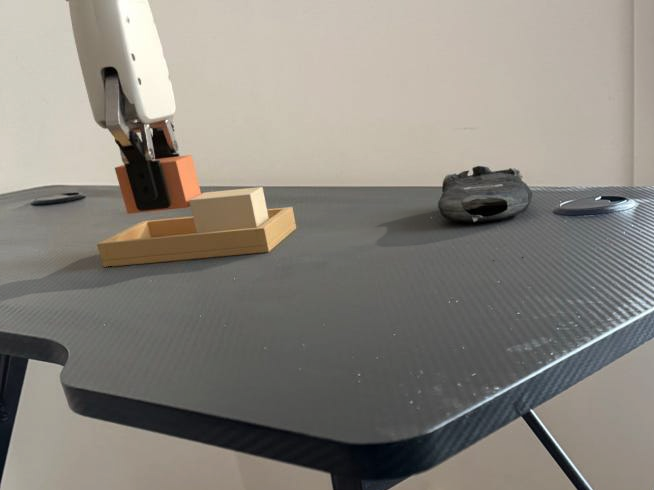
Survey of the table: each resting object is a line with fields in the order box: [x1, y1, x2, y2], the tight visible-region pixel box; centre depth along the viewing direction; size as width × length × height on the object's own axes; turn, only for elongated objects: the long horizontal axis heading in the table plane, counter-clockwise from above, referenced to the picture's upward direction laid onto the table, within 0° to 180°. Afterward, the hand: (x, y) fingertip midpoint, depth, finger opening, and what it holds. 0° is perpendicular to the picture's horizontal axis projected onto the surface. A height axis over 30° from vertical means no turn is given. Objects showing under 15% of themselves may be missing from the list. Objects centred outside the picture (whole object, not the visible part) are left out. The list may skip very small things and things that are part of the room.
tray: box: [96, 206, 297, 268], centre depth 92 cm, size 16×13×2 cm
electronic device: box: [437, 165, 533, 224], centre depth 93 cm, size 9×6×15 cm
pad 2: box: [189, 186, 269, 233], centre depth 91 cm, size 6×5×4 cm
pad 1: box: [114, 154, 202, 215], centre depth 89 cm, size 6×5×4 cm
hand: (163, 202), depth 90 cm, fingers closed on pad 1, 5 cm apart
